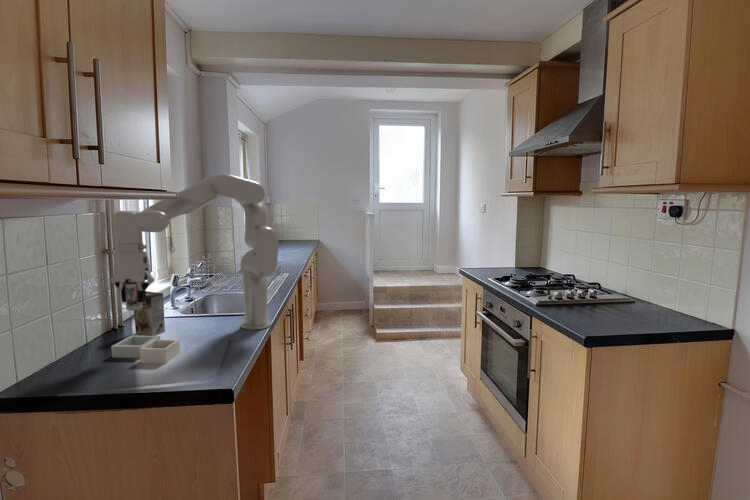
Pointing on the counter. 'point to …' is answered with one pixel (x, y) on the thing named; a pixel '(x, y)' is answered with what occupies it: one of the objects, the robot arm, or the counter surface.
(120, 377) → the counter surface
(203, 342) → the counter surface
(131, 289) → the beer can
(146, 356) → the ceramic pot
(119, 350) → the grey tub
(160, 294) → the coffee box
